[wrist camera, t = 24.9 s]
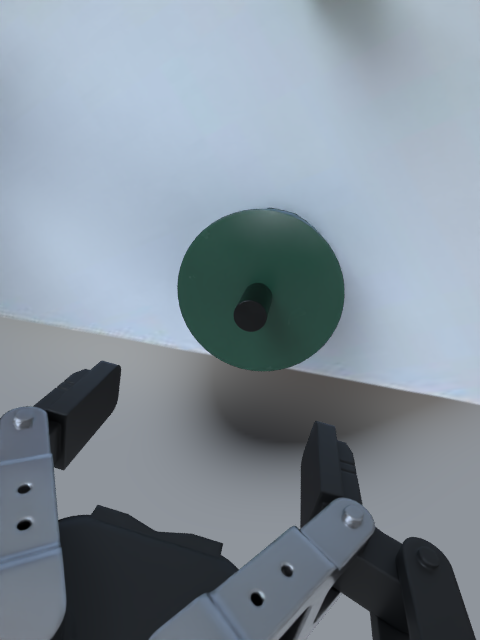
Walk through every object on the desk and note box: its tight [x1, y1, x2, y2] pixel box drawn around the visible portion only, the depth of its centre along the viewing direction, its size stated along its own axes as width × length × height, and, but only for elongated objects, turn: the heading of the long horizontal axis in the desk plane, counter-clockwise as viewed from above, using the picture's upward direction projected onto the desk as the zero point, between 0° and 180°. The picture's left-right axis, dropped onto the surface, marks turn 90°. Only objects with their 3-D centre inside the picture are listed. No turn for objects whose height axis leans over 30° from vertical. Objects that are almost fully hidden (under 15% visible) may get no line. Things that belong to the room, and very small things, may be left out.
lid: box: [177, 209, 344, 371], centre depth 28 cm, size 13×13×6 cm
